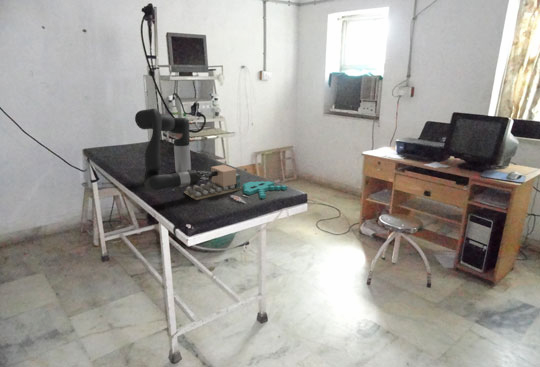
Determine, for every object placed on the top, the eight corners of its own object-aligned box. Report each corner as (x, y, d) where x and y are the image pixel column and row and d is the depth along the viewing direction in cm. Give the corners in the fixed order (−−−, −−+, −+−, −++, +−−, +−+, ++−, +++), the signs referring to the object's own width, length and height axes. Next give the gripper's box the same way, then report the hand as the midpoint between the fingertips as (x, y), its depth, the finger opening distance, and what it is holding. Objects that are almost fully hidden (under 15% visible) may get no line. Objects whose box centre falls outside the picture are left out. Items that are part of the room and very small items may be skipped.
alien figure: (286, 190, 199) (258, 182, 211) (286, 186, 199) (258, 178, 211) (262, 199, 185) (234, 191, 197) (262, 195, 184) (234, 187, 196)
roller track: (184, 193, 191) (183, 178, 189) (228, 183, 207) (228, 169, 205) (196, 200, 182) (195, 184, 179) (241, 189, 198) (241, 175, 195)
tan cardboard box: (211, 181, 199) (211, 166, 197) (224, 178, 204) (223, 164, 202) (223, 186, 191) (223, 172, 188) (236, 183, 195) (236, 169, 193)
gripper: (192, 174, 177) (223, 169, 187) (180, 168, 187) (210, 163, 197) (192, 188, 179) (223, 183, 189) (181, 182, 189) (211, 177, 199)
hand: (216, 173), depth 193 cm, fingers closed
